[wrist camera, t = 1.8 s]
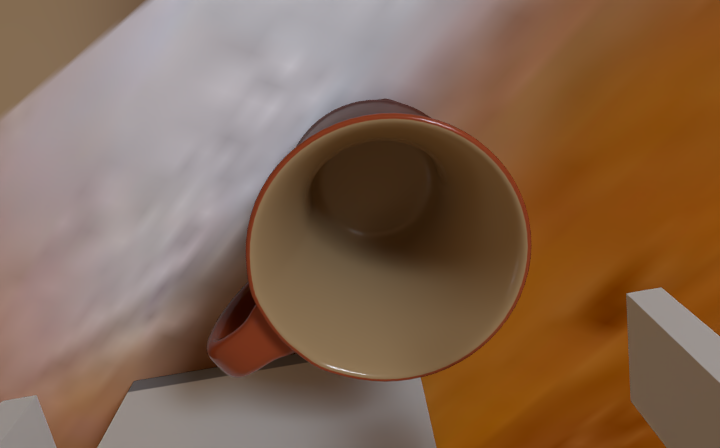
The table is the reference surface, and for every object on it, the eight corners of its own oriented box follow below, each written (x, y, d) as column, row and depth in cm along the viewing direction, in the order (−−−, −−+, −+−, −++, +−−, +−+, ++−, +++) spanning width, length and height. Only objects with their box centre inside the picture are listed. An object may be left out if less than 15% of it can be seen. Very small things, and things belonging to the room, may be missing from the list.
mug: (390, 35, 28) (419, 49, 18) (505, 191, 30) (586, 278, 20) (182, 204, 30) (105, 299, 20) (304, 337, 32) (289, 481, 22)
